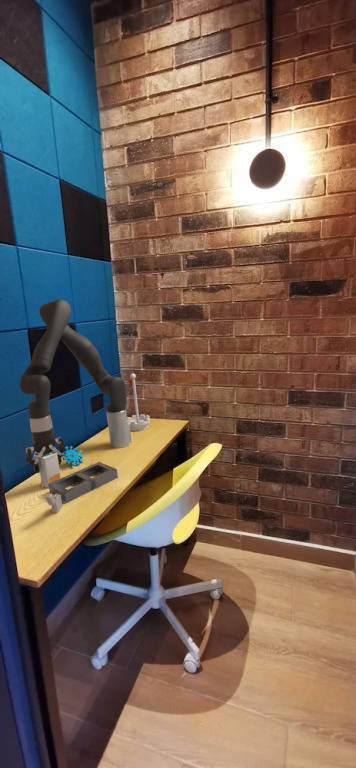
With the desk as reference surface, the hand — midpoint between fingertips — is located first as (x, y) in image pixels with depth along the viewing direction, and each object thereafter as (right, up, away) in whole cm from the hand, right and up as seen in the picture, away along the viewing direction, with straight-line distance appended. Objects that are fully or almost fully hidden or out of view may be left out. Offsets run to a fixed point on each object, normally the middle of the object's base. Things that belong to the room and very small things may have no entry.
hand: (48, 468), depth 133 cm
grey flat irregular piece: (+9, -10, -18) cm, 23 cm away
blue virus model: (+4, -3, +18) cm, 19 cm away
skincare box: (+1, -6, +2) cm, 7 cm away
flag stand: (+28, +8, +58) cm, 65 cm away
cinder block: (+14, -6, -2) cm, 16 cm away
